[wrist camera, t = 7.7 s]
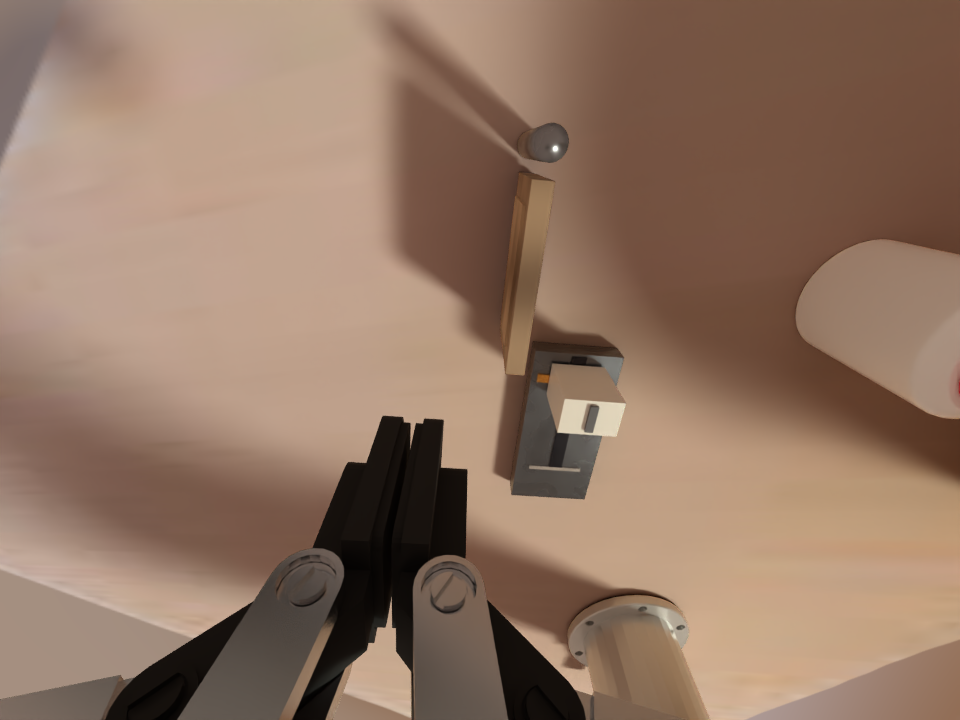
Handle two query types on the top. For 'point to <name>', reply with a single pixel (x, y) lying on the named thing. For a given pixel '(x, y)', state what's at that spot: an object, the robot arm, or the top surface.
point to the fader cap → (584, 400)
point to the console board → (539, 448)
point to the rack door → (524, 267)
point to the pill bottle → (890, 319)
